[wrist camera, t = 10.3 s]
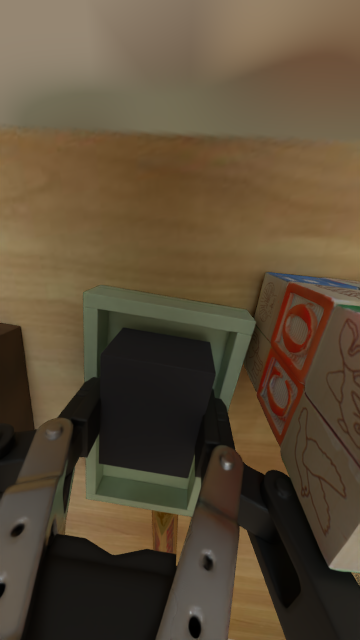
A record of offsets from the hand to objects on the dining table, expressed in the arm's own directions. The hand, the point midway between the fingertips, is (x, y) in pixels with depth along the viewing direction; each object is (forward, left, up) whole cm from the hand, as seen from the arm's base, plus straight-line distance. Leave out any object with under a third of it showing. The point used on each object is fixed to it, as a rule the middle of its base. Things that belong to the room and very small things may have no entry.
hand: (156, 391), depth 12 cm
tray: (+4, 0, -2) cm, 4 cm away
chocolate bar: (+22, +3, -3) cm, 22 cm away
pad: (0, 0, -1) cm, 1 cm away
